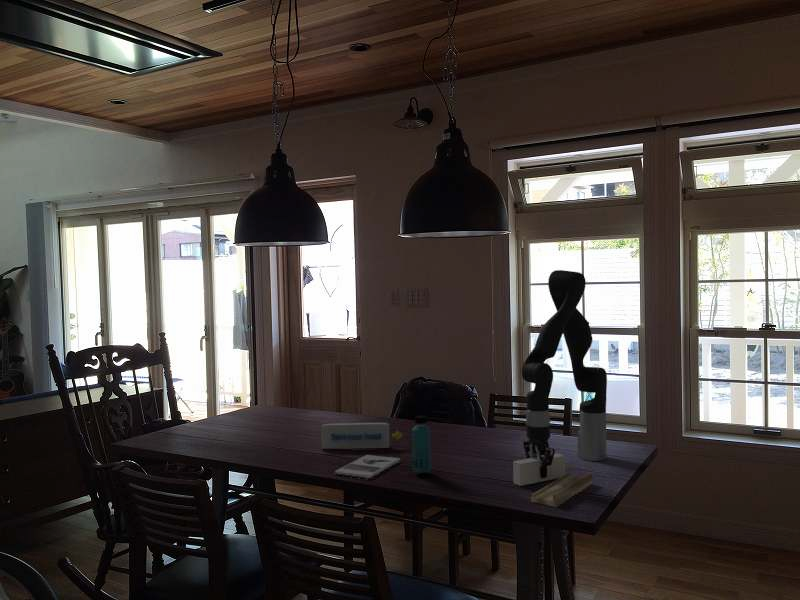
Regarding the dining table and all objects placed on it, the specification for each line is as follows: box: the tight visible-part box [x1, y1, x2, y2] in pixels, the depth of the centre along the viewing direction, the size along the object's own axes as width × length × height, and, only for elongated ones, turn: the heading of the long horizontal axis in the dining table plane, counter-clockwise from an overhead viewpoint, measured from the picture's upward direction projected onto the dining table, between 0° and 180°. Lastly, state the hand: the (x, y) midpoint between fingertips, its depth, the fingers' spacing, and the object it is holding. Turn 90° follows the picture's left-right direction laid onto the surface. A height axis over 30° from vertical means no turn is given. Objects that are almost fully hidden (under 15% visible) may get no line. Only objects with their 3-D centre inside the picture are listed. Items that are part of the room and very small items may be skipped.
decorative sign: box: [320, 422, 403, 449], centre depth 256 cm, size 32×4×10 cm, turn 89°
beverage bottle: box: [411, 415, 432, 473], centre depth 219 cm, size 6×7×20 cm
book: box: [334, 454, 401, 478], centre depth 228 cm, size 23×14×2 cm, turn 154°
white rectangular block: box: [512, 453, 566, 487], centre depth 209 cm, size 4×18×7 cm, turn 116°
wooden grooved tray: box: [530, 472, 593, 508], centre depth 197 cm, size 8×26×4 cm, turn 141°
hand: (539, 475), depth 209 cm, fingers closed on white rectangular block, 3 cm apart
